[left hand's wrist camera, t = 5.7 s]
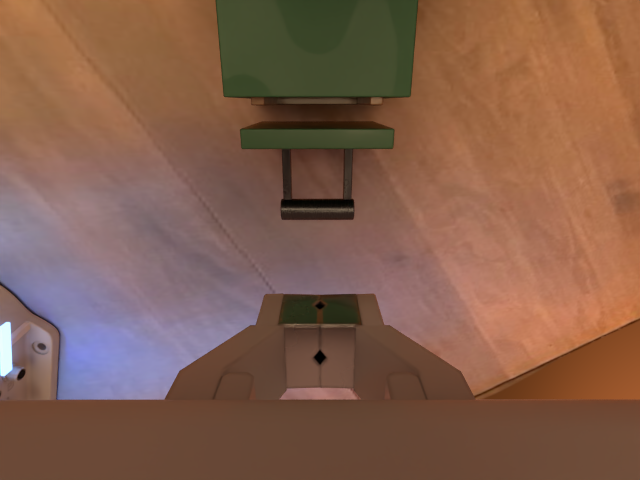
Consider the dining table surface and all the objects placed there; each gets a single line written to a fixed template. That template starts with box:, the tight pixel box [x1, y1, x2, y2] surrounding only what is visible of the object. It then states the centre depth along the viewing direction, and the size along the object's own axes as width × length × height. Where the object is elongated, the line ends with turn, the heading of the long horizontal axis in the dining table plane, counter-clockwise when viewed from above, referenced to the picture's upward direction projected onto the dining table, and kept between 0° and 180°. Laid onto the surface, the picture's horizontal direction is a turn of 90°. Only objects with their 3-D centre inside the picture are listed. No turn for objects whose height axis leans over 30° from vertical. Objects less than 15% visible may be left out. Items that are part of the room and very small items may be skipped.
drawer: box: [240, 97, 394, 220], centre depth 26 cm, size 19×9×9 cm, turn 0°
